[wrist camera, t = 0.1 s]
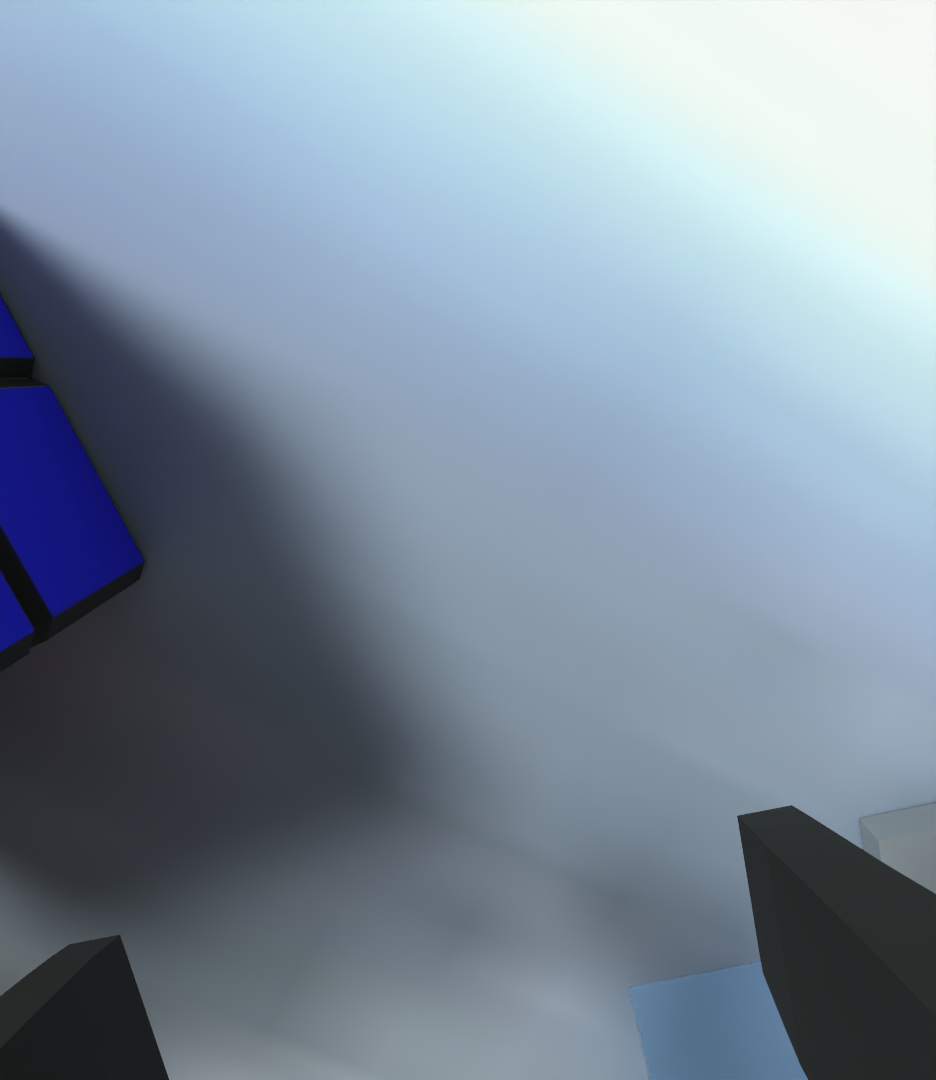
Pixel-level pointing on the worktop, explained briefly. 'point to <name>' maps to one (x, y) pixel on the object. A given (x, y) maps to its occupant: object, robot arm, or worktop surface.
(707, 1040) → the blue cube
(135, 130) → the worktop surface
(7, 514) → the puzzle cube
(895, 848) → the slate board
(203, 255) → the worktop surface
